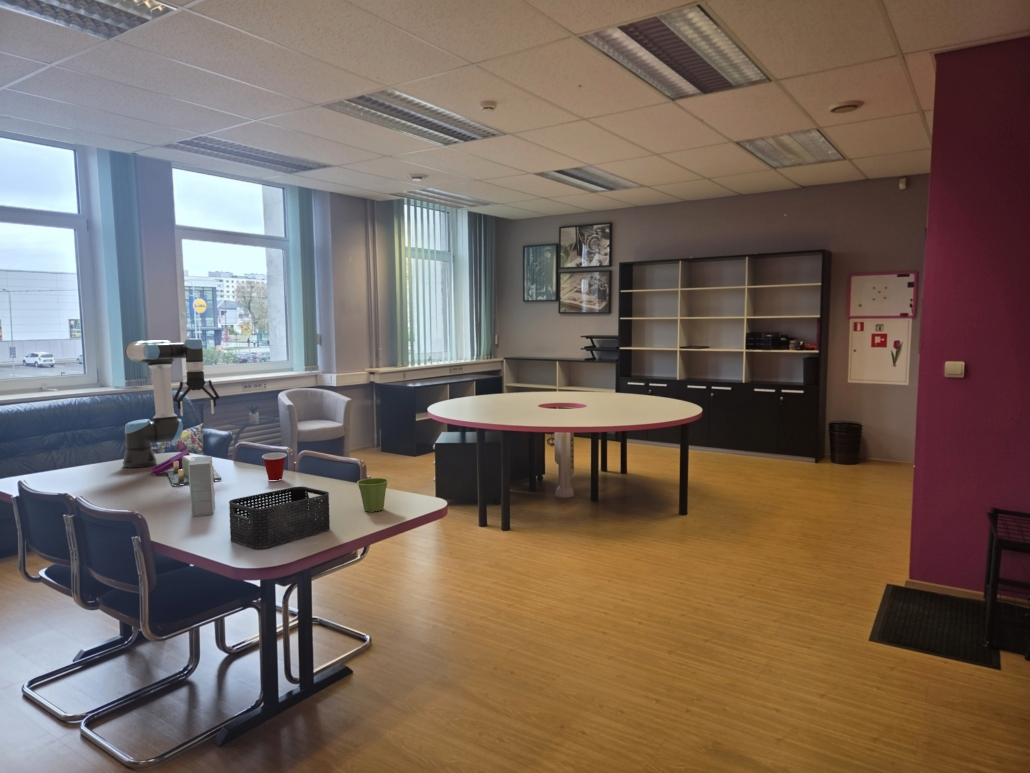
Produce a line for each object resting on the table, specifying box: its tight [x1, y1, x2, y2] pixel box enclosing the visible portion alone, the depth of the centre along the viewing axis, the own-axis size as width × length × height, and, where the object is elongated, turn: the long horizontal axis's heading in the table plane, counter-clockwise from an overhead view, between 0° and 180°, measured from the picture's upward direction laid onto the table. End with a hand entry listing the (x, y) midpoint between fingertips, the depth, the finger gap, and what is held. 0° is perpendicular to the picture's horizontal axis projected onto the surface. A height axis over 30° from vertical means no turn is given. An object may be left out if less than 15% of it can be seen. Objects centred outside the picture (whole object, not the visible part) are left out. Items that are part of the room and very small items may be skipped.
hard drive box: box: [188, 455, 216, 518], centre depth 255 cm, size 16×8×20 cm, turn 22°
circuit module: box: [182, 454, 199, 477], centre depth 315 cm, size 16×6×8 cm, turn 38°
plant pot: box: [356, 477, 389, 513], centre depth 254 cm, size 12×12×11 cm
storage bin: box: [228, 486, 331, 550], centre depth 224 cm, size 29×19×13 cm
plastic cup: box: [261, 452, 288, 481], centre depth 307 cm, size 11×11×12 cm
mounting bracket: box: [150, 449, 191, 475], centre depth 329 cm, size 10×8×18 cm
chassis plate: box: [166, 461, 222, 486], centre depth 315 cm, size 30×20×6 cm, turn 32°
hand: (197, 414), depth 323 cm, fingers open, 13 cm apart
